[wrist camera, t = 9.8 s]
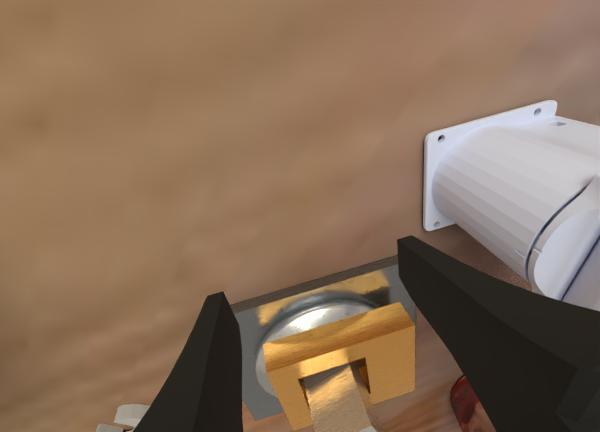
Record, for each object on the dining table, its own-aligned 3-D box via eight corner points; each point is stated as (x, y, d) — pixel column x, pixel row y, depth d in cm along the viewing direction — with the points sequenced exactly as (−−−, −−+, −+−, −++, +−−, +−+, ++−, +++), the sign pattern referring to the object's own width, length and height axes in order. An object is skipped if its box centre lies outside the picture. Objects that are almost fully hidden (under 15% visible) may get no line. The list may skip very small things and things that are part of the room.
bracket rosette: (409, 251, 26) (441, 288, 22) (410, 360, 34) (433, 400, 30) (199, 314, 24) (194, 365, 21) (254, 411, 33) (258, 459, 29)
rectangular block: (339, 338, 26) (371, 425, 20) (355, 359, 28) (388, 444, 22) (298, 358, 27) (318, 450, 21) (317, 378, 29) (341, 467, 23)
